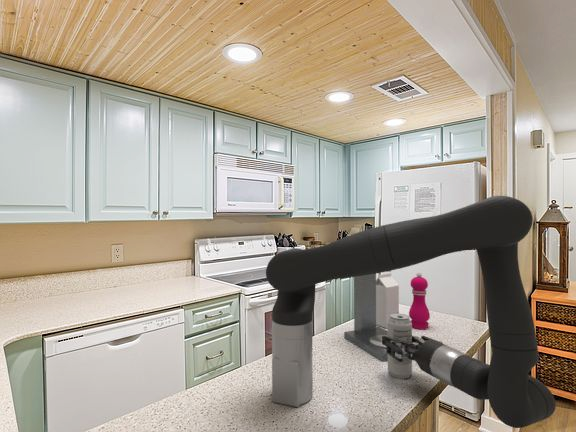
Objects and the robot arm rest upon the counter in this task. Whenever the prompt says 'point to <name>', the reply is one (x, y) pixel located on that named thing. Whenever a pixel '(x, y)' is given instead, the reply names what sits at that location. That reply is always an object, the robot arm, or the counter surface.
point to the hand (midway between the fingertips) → (393, 338)
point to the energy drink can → (399, 331)
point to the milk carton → (386, 299)
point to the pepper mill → (419, 303)
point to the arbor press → (367, 318)
